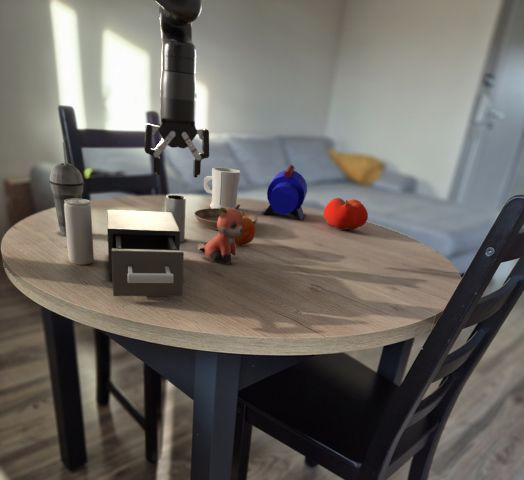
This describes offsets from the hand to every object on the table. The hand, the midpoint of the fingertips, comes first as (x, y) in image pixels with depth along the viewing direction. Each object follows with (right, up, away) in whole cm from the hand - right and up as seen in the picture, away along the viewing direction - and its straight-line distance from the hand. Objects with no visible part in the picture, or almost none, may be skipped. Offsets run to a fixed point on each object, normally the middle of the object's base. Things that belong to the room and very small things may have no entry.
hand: (176, 175), depth 111 cm
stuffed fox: (+9, -19, -1) cm, 22 cm away
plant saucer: (+9, -5, +25) cm, 27 cm away
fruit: (+14, -14, +10) cm, 22 cm away
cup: (+6, +5, +44) cm, 44 cm away
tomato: (+44, -3, +37) cm, 58 cm away
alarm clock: (+27, +4, +46) cm, 53 cm away
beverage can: (-17, -22, -14) cm, 31 cm away
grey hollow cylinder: (-2, -13, +7) cm, 15 cm away
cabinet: (-5, -24, -13) cm, 27 cm away
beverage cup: (-25, -13, +3) cm, 29 cm away
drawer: (-1, -29, -25) cm, 38 cm away
